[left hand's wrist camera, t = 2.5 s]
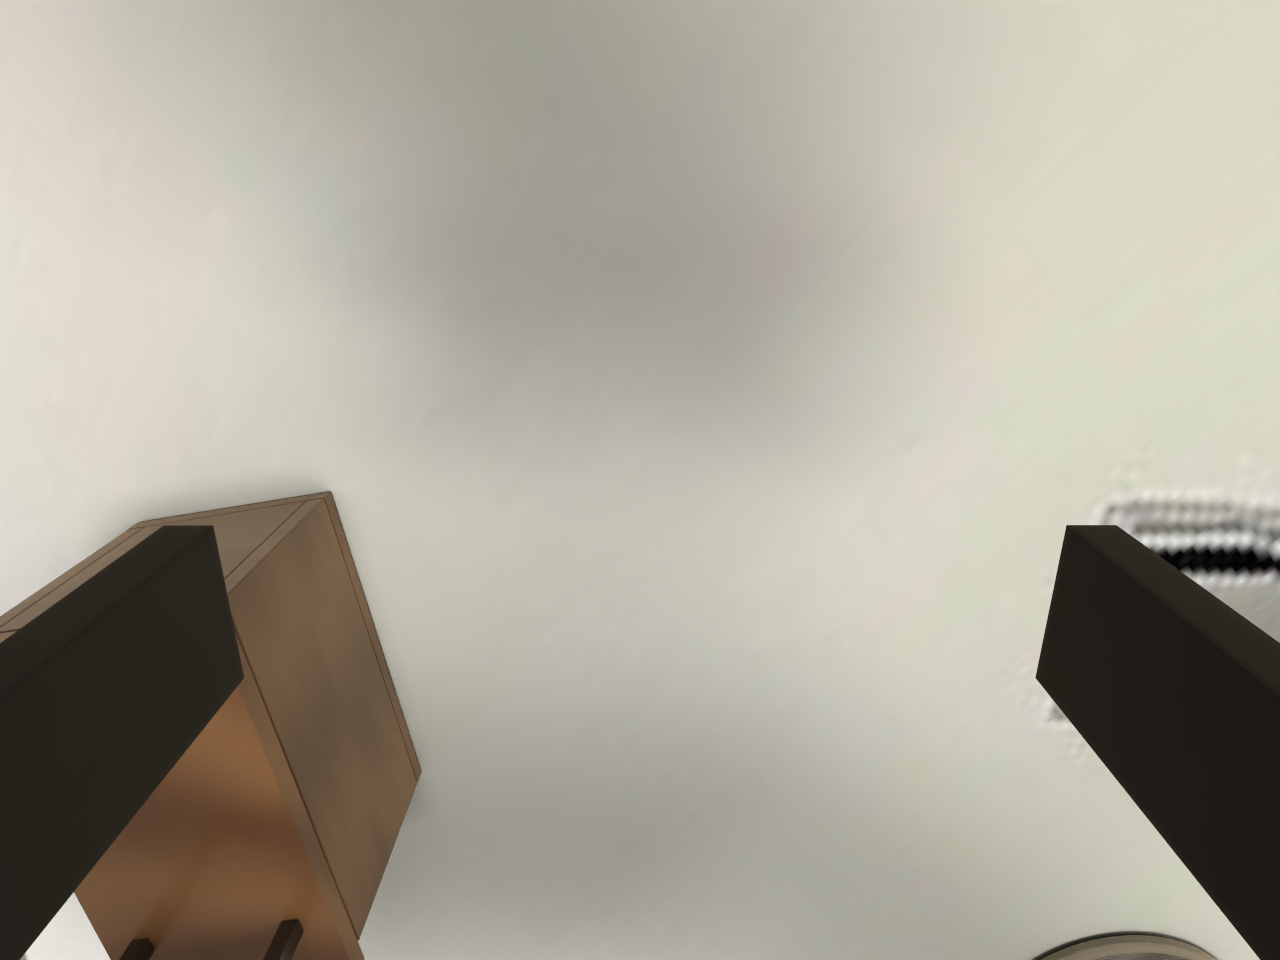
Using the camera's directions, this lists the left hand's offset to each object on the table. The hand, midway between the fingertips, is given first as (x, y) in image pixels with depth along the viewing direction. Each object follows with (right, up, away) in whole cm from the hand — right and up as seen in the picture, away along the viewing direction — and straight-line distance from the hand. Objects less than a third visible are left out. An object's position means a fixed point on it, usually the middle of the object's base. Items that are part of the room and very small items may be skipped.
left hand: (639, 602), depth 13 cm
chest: (-17, -7, +27) cm, 32 cm away
